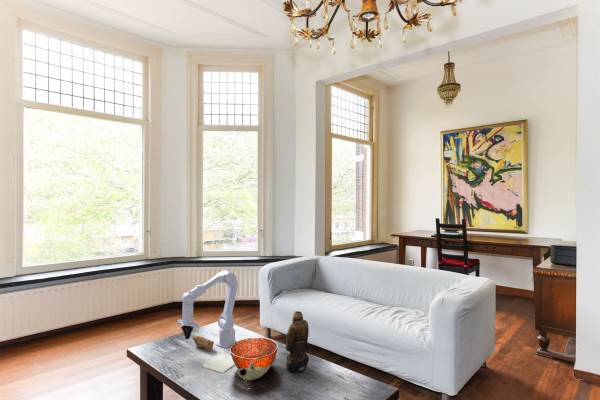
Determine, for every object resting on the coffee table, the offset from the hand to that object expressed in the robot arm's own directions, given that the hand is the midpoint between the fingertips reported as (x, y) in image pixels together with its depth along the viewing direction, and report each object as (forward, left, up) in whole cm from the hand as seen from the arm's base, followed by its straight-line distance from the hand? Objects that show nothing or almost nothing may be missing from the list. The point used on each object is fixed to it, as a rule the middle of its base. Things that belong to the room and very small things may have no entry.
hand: (187, 338), depth 193 cm
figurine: (-9, +9, -3) cm, 13 cm away
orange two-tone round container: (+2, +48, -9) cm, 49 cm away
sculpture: (-15, +61, -9) cm, 63 cm away
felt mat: (-1, +24, -9) cm, 25 cm away
